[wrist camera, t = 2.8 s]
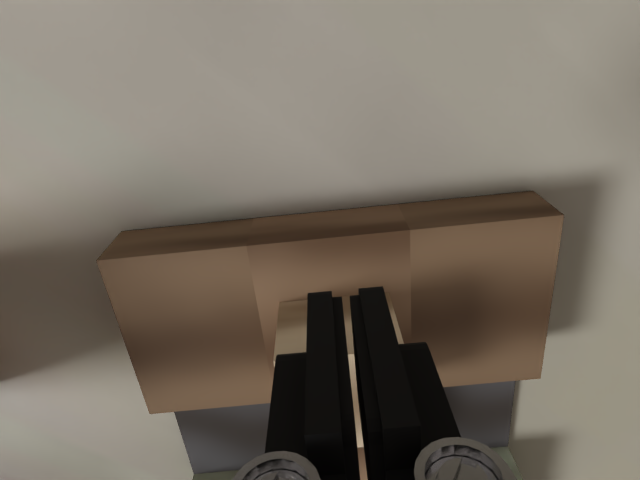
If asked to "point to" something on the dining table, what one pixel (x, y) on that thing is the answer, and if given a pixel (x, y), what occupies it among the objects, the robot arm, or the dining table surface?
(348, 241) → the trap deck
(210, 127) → the dining table surface
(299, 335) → the maple cube
